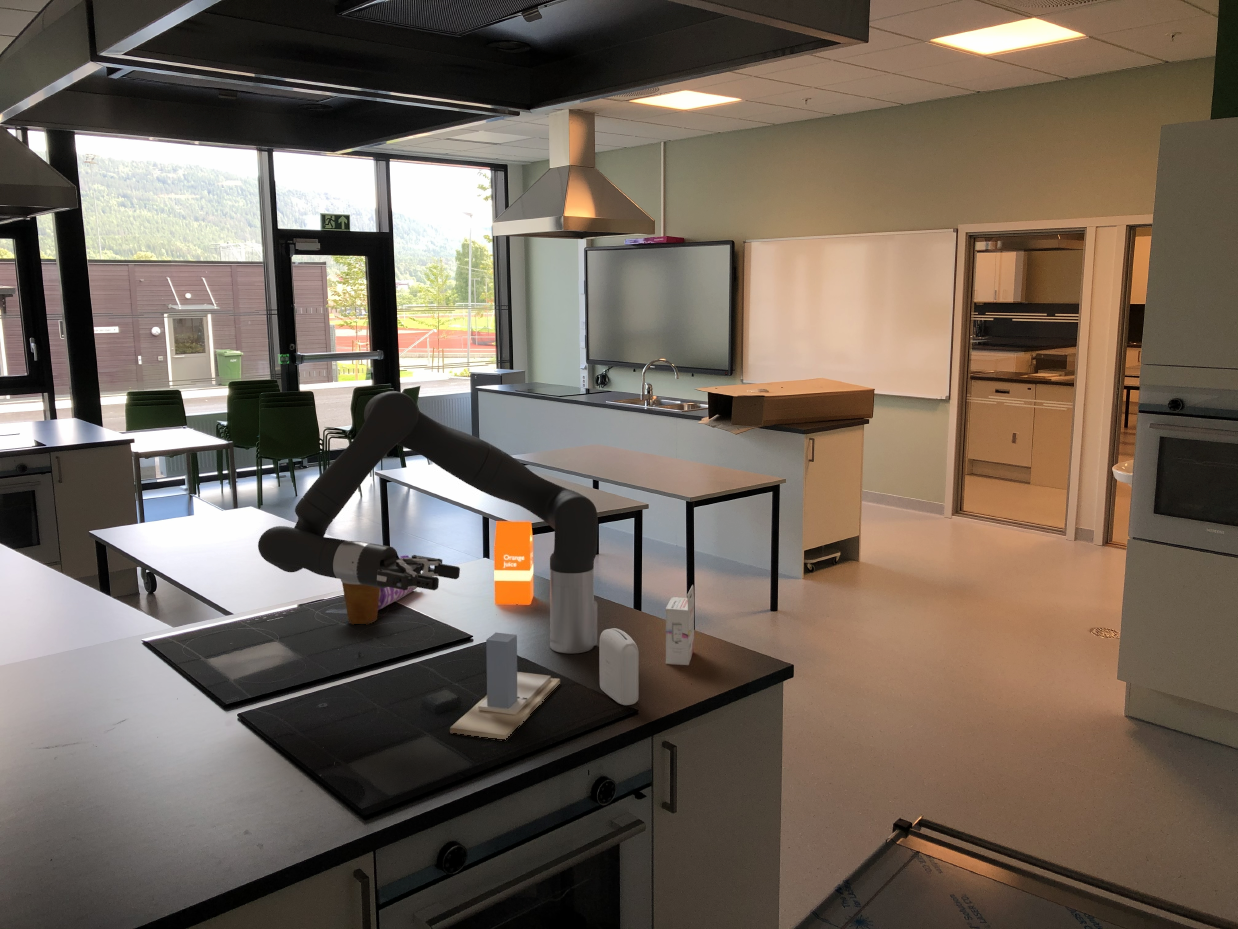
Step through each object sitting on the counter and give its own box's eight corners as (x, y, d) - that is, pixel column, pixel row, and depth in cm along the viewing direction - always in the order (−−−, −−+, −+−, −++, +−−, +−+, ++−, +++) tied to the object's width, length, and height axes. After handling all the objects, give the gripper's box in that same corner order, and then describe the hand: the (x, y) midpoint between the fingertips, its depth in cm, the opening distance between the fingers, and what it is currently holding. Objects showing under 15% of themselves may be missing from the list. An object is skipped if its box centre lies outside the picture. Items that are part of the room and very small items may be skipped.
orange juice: (530, 604, 228) (529, 524, 226) (494, 604, 229) (493, 524, 226) (533, 595, 236) (533, 518, 233) (498, 595, 236) (497, 517, 233)
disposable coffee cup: (392, 619, 217) (391, 568, 215) (361, 630, 209) (359, 578, 207) (364, 612, 222) (362, 563, 220) (332, 622, 214) (330, 571, 212)
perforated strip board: (511, 678, 181) (511, 668, 180) (560, 684, 178) (560, 674, 177) (450, 733, 156) (450, 722, 156) (505, 741, 153) (505, 730, 153)
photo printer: (596, 688, 176) (596, 624, 174) (616, 684, 178) (617, 621, 176) (620, 708, 167) (620, 641, 165) (641, 704, 169) (642, 638, 167)
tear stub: (490, 699, 167) (489, 630, 166) (526, 703, 165) (525, 634, 164) (478, 709, 163) (477, 639, 161) (515, 714, 161) (514, 643, 159)
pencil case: (391, 588, 243) (390, 552, 241) (425, 590, 241) (424, 554, 240) (351, 613, 221) (350, 574, 220) (388, 615, 220) (387, 576, 218)
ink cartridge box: (670, 650, 197) (671, 582, 195) (694, 652, 196) (695, 583, 194) (664, 664, 189) (665, 593, 186) (688, 666, 188) (690, 595, 185)
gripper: (345, 551, 160) (432, 566, 156) (386, 536, 174) (467, 549, 170) (343, 593, 161) (428, 609, 157) (384, 575, 175) (463, 589, 171)
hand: (448, 578), depth 164 cm, fingers open, 8 cm apart
